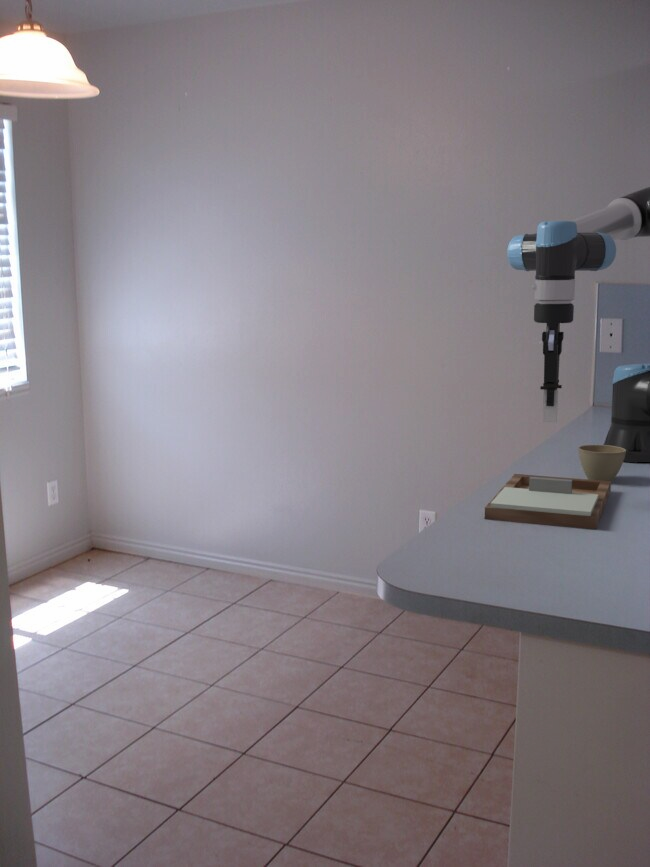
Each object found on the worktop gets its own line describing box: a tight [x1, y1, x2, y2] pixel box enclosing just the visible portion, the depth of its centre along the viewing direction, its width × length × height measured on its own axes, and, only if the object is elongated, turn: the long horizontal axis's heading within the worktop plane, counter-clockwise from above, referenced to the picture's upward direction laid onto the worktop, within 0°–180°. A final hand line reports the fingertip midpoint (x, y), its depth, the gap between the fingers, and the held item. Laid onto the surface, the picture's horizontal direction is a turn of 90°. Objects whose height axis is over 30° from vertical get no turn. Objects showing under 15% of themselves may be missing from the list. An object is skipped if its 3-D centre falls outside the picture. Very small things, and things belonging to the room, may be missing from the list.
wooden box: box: [484, 473, 612, 530], centre depth 187 cm, size 31×20×2 cm, turn 159°
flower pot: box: [578, 444, 626, 483], centre depth 208 cm, size 10×10×7 cm
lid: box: [491, 477, 598, 516], centre depth 179 cm, size 14×18×3 cm
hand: (549, 421), depth 189 cm, fingers closed
